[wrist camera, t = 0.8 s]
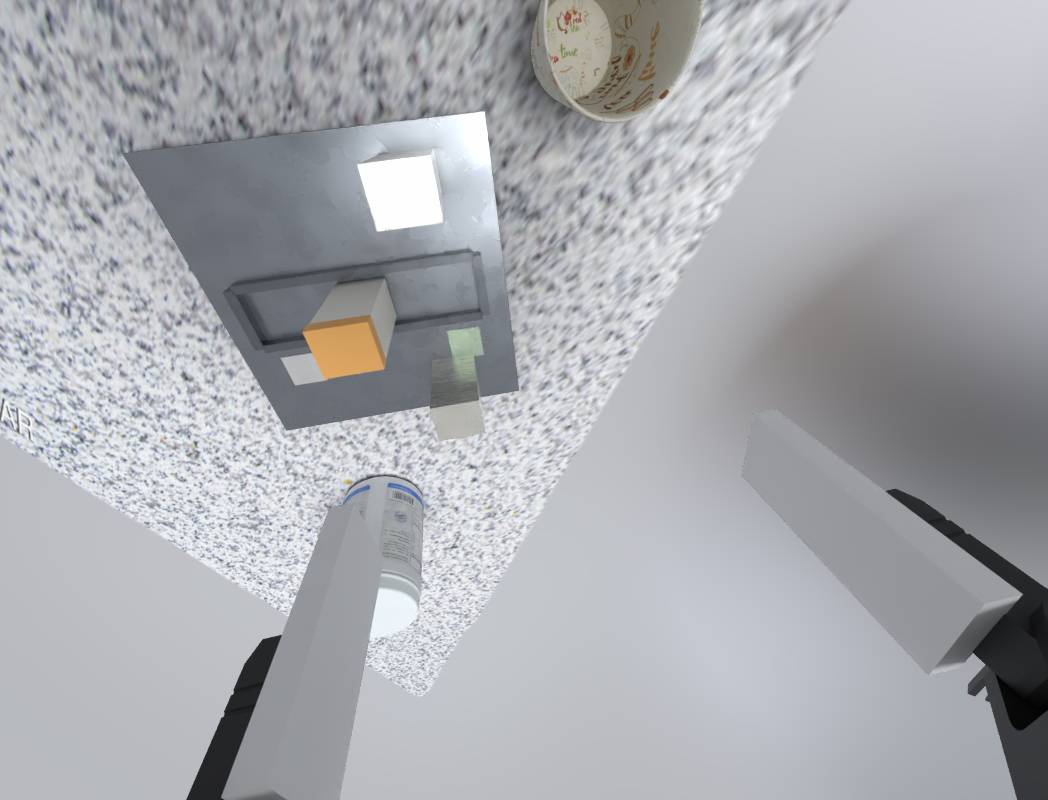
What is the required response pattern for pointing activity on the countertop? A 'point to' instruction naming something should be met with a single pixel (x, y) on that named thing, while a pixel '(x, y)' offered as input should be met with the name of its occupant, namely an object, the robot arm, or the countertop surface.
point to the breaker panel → (350, 259)
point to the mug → (613, 53)
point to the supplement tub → (393, 547)
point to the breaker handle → (352, 329)
